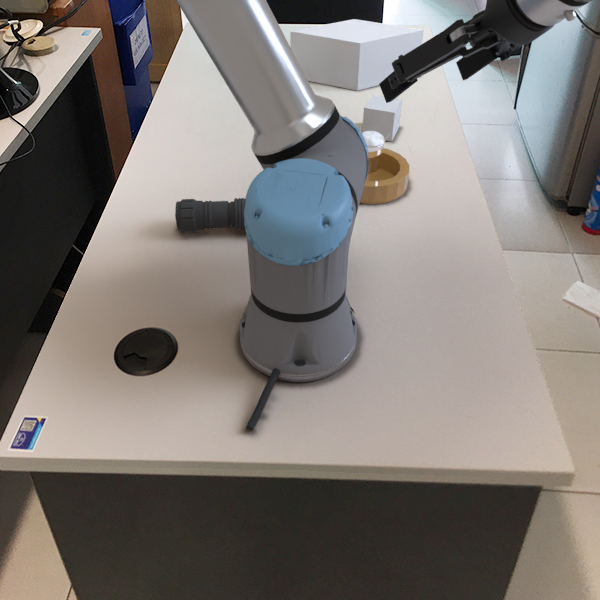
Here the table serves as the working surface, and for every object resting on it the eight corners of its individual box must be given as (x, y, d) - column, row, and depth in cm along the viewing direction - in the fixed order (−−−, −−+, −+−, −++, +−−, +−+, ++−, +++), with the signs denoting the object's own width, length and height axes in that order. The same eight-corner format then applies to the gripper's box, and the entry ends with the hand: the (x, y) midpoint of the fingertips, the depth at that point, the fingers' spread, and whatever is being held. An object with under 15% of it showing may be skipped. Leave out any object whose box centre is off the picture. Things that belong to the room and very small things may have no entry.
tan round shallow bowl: (375, 213, 104) (377, 195, 101) (316, 183, 110) (316, 166, 108) (422, 182, 111) (424, 164, 108) (363, 155, 117) (365, 138, 115)
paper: (290, 64, 148) (289, 19, 142) (412, 63, 149) (418, 18, 142) (291, 91, 138) (290, 43, 131) (423, 89, 138) (429, 42, 131)
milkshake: (383, 190, 108) (389, 137, 101) (352, 186, 109) (356, 134, 102) (386, 176, 112) (391, 124, 105) (356, 173, 112) (360, 121, 106)
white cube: (391, 141, 121) (394, 112, 117) (361, 136, 123) (363, 107, 119) (399, 127, 125) (402, 99, 121) (370, 123, 127) (372, 94, 123)
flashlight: (176, 240, 98) (171, 211, 95) (179, 220, 102) (174, 191, 99) (274, 236, 99) (273, 208, 95) (273, 216, 103) (272, 188, 99)
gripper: (461, 52, 62) (360, 130, 81) (624, 8, 72) (500, 86, 91) (433, -20, 62) (339, 75, 81) (601, -55, 71) (481, 38, 91)
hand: (424, 81), depth 86 cm, fingers open, 13 cm apart
